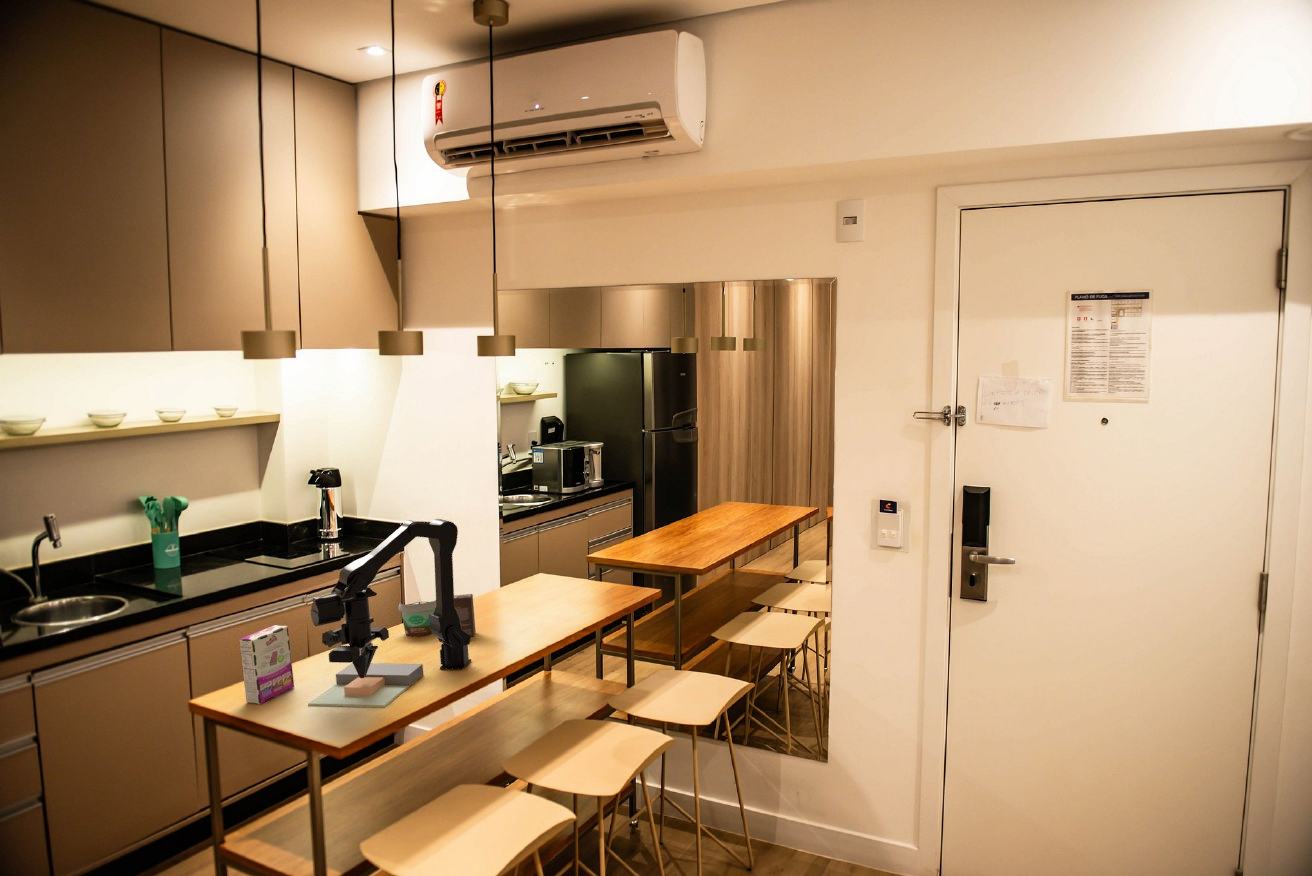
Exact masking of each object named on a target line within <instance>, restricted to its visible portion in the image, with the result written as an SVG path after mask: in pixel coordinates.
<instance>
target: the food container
mask: <svg viewBox="0 0 1312 876" xmlns="http://www.w3.org/2000/svg"><path fill="white" fill-rule="evenodd" d="M435 608H436V599H435V600H433V601H432V600H431V601H416V602H413V603H408V604H407V603H406V604H402V603H401V602H399V604H398V608H397V609H398V611H399V612H401V617H402V623H403V628H404V633H405V634H404V635H405V636H406V637H408V636H409V638H422V637H421V636H423V637H427V636H430V635H431V636H432V635H433V634H432V632H431V629H429V628H428V627H429V623H430V621H429V614H430V613H434V611H435Z"/></svg>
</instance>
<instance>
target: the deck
mask: <svg viewBox="0 0 1312 876" xmlns="http://www.w3.org/2000/svg"><path fill="white" fill-rule="evenodd" d="M423 676H424V665H423V663H385V662H384V663H379V662H376V663H374V662H373V663H372V662H371V664H370V666H369V669H368V671H367V674H366V677H384V678H385V685H395V686H408V688H410V687H411V686H412V685H414V683H416V682H417V681H418V680H419V679H420V678H422V677H423ZM358 677H359V675H358V673H357V671H356V669H355V667H354V665H353V663H352V662H351V663H350V664H349V665H347V666H346V667H344V668H343V669H341V670H340V671H338V672H337V673H335V682H336V683H335V684H339V685H348V684H349V683H351V682H352V681H354V680H355V679H356V678H358Z"/></svg>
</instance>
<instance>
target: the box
mask: <svg viewBox="0 0 1312 876" xmlns="http://www.w3.org/2000/svg"><path fill="white" fill-rule="evenodd" d="M454 606H455V609H456V611H457V613H458V616H459V618H460V623H461V628H462V630H463V631H464V632H465V633H467V634H468V635H470V636H471V637H475V635H476V620H475V609H474V594H473V593H467V594H456V595H455V594H454ZM474 634H475V635H474Z"/></svg>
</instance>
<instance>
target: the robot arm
mask: <svg viewBox="0 0 1312 876" xmlns="http://www.w3.org/2000/svg"><path fill="white" fill-rule="evenodd" d="M458 529H459V528H458V526H457V525H456V524H455V523H454V522H453V521H451V520H447V519H443V518H442V519H441V518H436V519H433V520H432V521H420V520H418V521H415V520H411V519H410V520H406V521H404V522H403V523H402V524H401V526H399V527H398V529H396V530H395V531H394V532H393V533H392V534H390V535H389V536H388V537H387V538H386V539H384V540H383V541H382V542H381V543H380V544H378V545H377V547H375V548H374V549H373V550H372V551H371V552H369V553H368V554H367V555H365V556H363V557H360V558H358V559H356V560H353V561H352V562H350V563H349V564H347V565H346V566H344V567H343V568H341V570H340V571H339V575H338V580H337V582H336V583H335V585H334V587H333V589H332V590H331V592H330V593H331V594H328V595H324V596H323V595H322V596H315V597H313V598H312V603H311V609H310V618H311V621H312V623H313V625H314V626H315V627H321V626H325V625H328V624H333V623H337V622H341V620H342V619H344V620H345V621H344V622H342V624H341V625H340V627H338V628H337V629H334V630H332V629H329V630H327V631H324V632H323V633H322V634H321V640H322V641H321V643H322V644H323V645H324V646H327V648H332V647H333V646H334V645H337V644H340V643H341V645H338V646H336V647H335V648H334V649H332V650H331V651H330V652H329V653H328V662H329V663H341V664H343V663H345V664H346V663H348V664H349V663H350V664H352V663H353V665H354V667H355V669H356V671H357V673H358V675H359V677H360V678H365V677H366V674H367V671H368V669H369V666H370V664H371V663H372V661H373V659H374V656H375V654H376V651H377V650H378V648H379V646H378V645H374V644H373V643H372V641H374V640H376V639H377V638H378V639H379V638H380V640H381V641H382V642H385V641H386V640H388V639H389V638H390V633H389V629H387V628H386V626H372V625H371V624H372V623H374V621H375V620H374V617H371V616H370V615H371V614H370V613H371V612H370V603H369V601H370V600H369V598H371V597H376V596H378V593H377V592H376V591H374V590H373V589H371V587H370V584H371V583H372V582H373V580H375V578H376V576H377V574H378V573H379V571H380V570H381V568H382V567H383V566H384V565H386V564H387V563H388V562H389V561H390V560H391V559H392V558H394V556H396V555H397V554H398V553H399V552H401V551H402V550H403V549H404V548H405V547H406V546H408V544H410V543H411V542H412V541H413V540H414V539H416V538H427V539H428V544H429V546H430V547H431V549H432V550H431V551H432V553H433V555H434V557H433V558H434V561H433V562H434V581H435V582H434V584H435V585H434V586H435V587H434V588H435V600H436V608H435V611H434V613H430V614H429V621H430V623H429V627H428V628H429V629H431V632H432V634H431V635H433V636H434V637H436V638H437V639H438V642H440V643H442V644H441V645H440V649H439V653H440V654H439V658H440V664H441V666H440V667H439V670H464V669H465V668H466V667H467V666H468V665H469V664H470V663H471V662H472V659H469V658H470V656H469V646H468V645H470V643H471V639H472V636H470V635H468V634H467V633H465V632H464V631H463V630H462V628H461V623H460V618H459V616H458V613H457V611H456V609H455V606H454V595H455V588H454V563H453V561H454V560H453V553H454V550H455V547H456V546H457V543H458V542H457V541H458V535H459V530H458Z"/></svg>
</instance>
